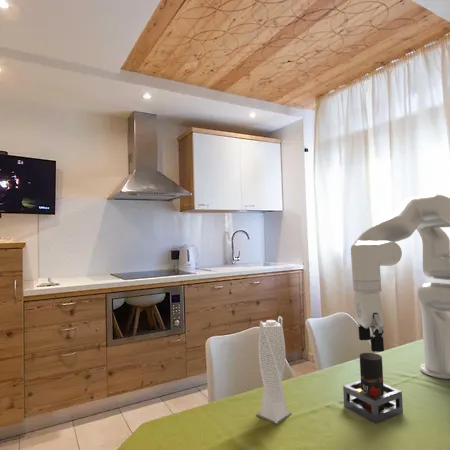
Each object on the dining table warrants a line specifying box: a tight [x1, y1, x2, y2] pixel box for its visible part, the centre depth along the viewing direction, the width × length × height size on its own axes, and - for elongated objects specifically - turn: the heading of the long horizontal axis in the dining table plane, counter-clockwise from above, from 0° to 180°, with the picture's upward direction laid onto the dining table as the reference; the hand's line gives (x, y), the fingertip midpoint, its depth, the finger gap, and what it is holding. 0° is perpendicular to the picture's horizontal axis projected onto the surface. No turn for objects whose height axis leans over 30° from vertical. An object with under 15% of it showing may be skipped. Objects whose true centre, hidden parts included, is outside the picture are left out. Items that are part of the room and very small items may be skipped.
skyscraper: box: [256, 315, 292, 425], centre depth 95 cm, size 8×8×28 cm
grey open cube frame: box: [342, 379, 404, 425], centre depth 97 cm, size 11×11×7 cm
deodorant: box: [359, 352, 386, 412], centre depth 97 cm, size 6×6×15 cm
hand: (371, 345), depth 98 cm, fingers open, 9 cm apart
